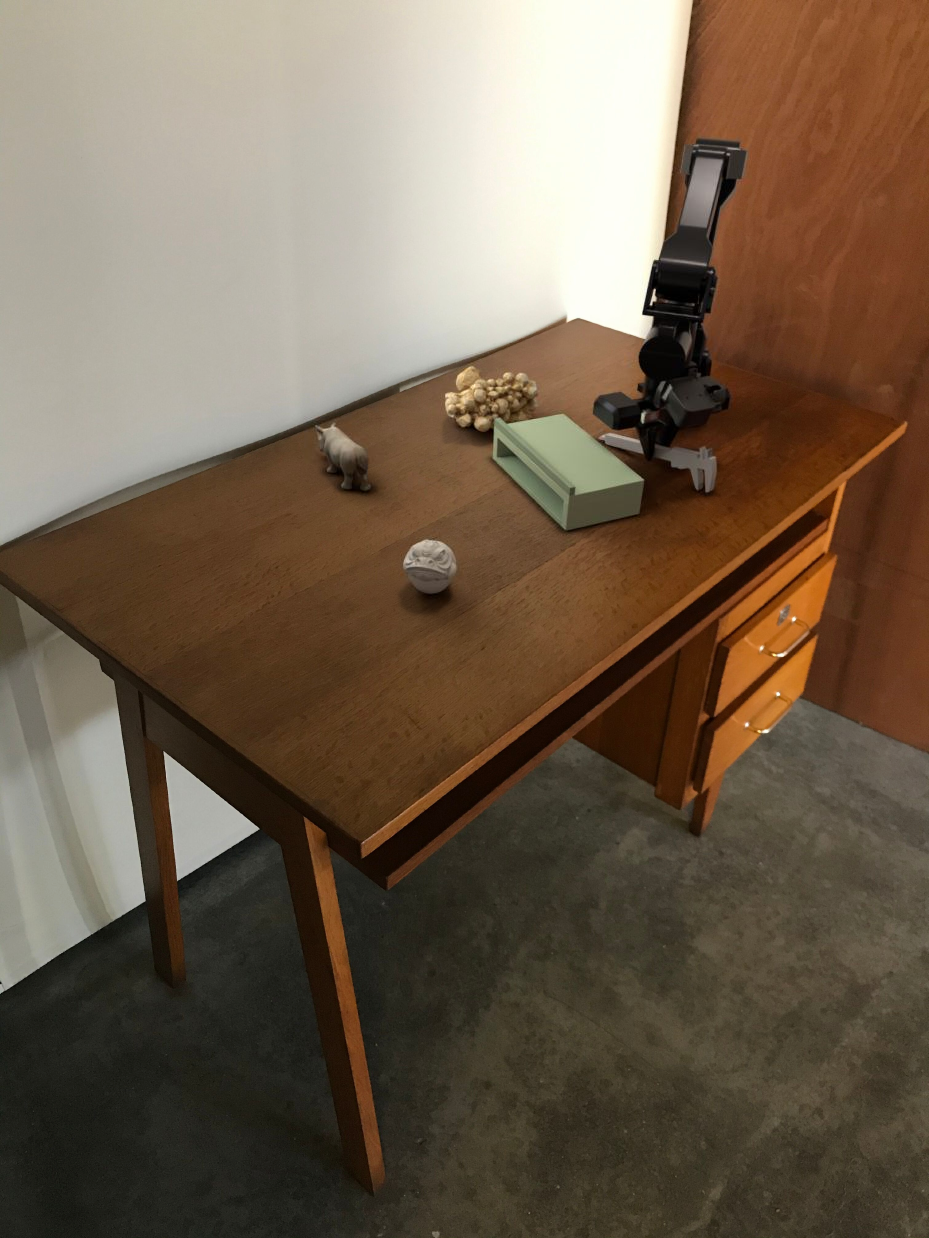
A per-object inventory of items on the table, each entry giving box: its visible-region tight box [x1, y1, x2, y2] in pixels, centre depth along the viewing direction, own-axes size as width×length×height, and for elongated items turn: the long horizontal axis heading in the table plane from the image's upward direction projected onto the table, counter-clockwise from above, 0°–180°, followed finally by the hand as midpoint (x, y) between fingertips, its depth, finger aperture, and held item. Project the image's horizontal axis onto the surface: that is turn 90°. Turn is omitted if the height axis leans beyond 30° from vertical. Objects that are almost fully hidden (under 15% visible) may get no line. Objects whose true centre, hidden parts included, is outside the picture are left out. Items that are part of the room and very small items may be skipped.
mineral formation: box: [444, 365, 540, 433], centre depth 148 cm, size 8×13×15 cm
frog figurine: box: [402, 539, 458, 595], centre depth 113 cm, size 6×7×7 cm
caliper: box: [598, 432, 718, 493], centre depth 139 cm, size 20×1×6 cm, turn 41°
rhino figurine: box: [315, 422, 371, 492], centre depth 136 cm, size 4×14×6 cm, turn 30°
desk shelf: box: [492, 413, 645, 531], centre depth 134 cm, size 11×21×6 cm, turn 25°
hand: (653, 459), depth 141 cm, fingers closed on caliper, 1 cm apart
